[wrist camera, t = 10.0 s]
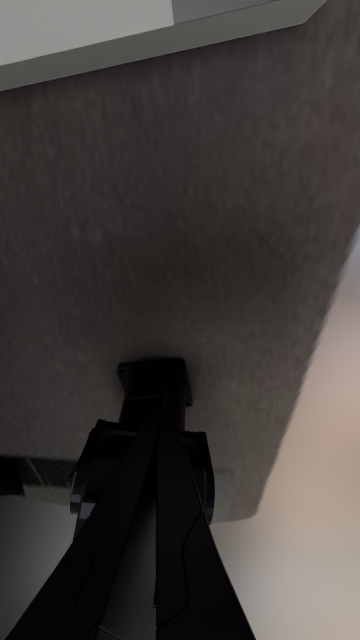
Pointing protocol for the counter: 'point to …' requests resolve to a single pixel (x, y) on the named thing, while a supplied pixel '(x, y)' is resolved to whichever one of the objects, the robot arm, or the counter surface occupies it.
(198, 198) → the counter surface
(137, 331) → the counter surface
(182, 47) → the grey mounting base
